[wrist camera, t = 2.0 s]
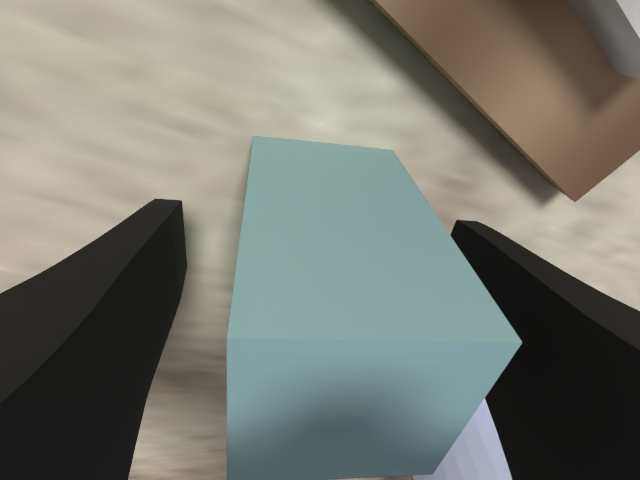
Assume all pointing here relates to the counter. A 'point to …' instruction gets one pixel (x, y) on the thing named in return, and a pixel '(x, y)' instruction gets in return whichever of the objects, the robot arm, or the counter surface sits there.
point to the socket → (540, 75)
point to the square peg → (351, 321)
